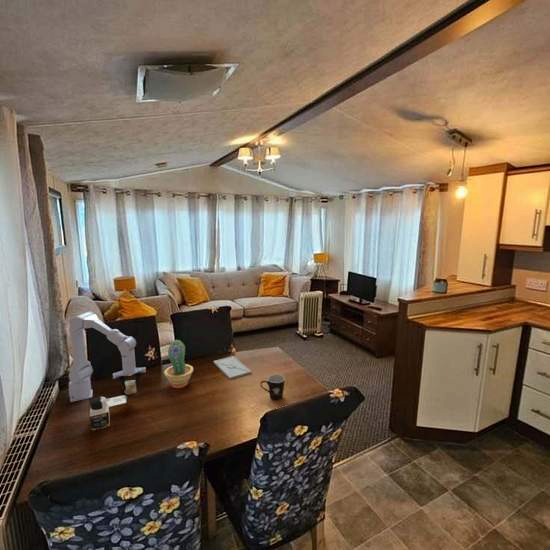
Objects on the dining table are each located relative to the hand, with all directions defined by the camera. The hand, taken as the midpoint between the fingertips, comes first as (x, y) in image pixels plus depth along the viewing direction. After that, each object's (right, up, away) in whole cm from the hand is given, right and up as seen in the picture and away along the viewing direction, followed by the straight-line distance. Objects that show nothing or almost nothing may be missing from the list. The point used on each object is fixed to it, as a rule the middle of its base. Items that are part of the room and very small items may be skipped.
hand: (130, 388), depth 158 cm
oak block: (0, -2, 0) cm, 2 cm away
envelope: (+45, -2, +37) cm, 58 cm away
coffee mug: (+70, -6, +6) cm, 71 cm away
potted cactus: (+18, -4, +19) cm, 27 cm away
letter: (-8, -7, +1) cm, 11 cm away
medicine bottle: (-6, -10, -16) cm, 20 cm away
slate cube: (-6, -5, +11) cm, 14 cm away
